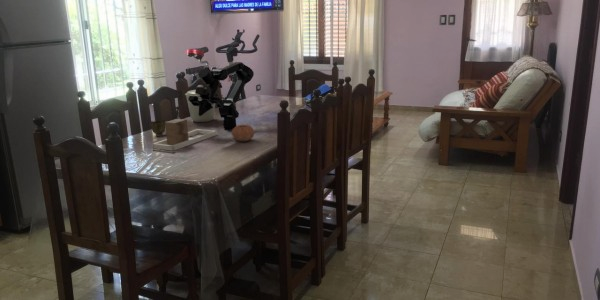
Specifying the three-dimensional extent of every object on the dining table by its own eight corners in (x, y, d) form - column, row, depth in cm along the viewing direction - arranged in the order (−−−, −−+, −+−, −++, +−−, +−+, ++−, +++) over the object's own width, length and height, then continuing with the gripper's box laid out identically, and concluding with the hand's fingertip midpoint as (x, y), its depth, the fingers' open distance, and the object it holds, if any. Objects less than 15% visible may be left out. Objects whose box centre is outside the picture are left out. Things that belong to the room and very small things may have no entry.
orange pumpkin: (234, 144, 225) (232, 128, 223) (231, 139, 235) (229, 123, 233) (256, 142, 227) (255, 126, 225) (252, 137, 238) (251, 121, 235)
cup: (169, 135, 248) (168, 120, 246) (161, 138, 241) (159, 123, 239) (157, 134, 250) (155, 119, 248) (149, 137, 243) (147, 122, 241)
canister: (212, 123, 272) (209, 87, 267) (182, 123, 275) (179, 87, 270) (222, 117, 289) (220, 82, 284) (194, 117, 292) (191, 83, 287)
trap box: (198, 135, 244) (197, 129, 243) (216, 137, 239) (216, 130, 238) (153, 151, 217) (152, 143, 216) (173, 153, 212) (172, 146, 211)
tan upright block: (179, 141, 227) (176, 118, 225) (188, 142, 225) (186, 119, 222) (167, 145, 221) (164, 122, 218) (177, 146, 218) (175, 123, 215)
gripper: (188, 79, 239) (175, 105, 232) (218, 80, 230) (206, 107, 224) (200, 92, 247) (188, 117, 241) (229, 94, 239) (217, 120, 233)
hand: (199, 115), depth 234 cm, fingers closed
